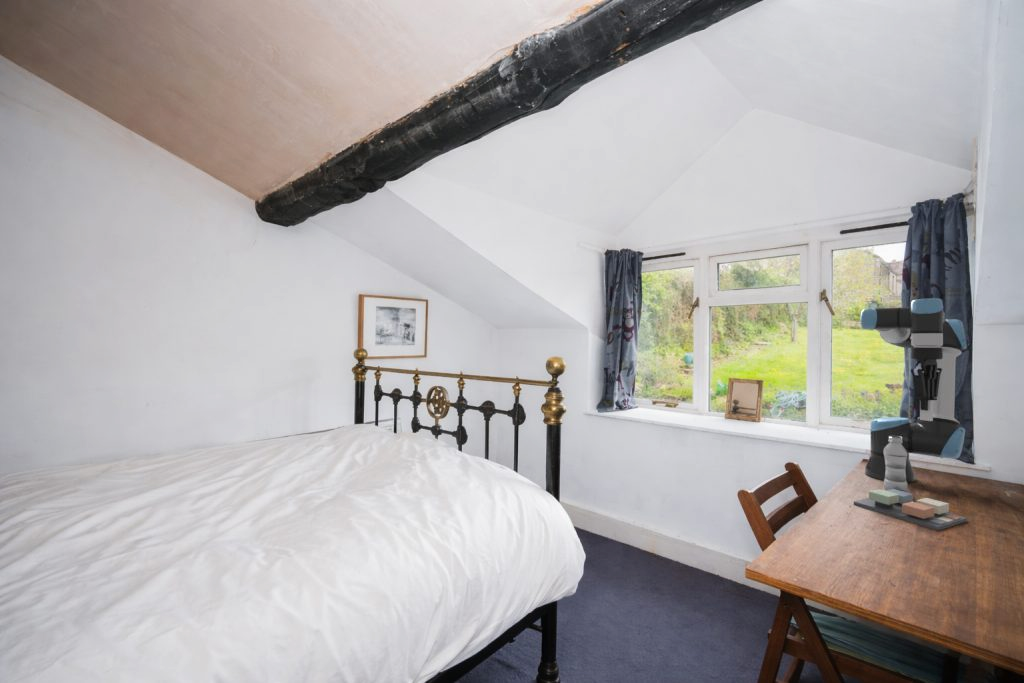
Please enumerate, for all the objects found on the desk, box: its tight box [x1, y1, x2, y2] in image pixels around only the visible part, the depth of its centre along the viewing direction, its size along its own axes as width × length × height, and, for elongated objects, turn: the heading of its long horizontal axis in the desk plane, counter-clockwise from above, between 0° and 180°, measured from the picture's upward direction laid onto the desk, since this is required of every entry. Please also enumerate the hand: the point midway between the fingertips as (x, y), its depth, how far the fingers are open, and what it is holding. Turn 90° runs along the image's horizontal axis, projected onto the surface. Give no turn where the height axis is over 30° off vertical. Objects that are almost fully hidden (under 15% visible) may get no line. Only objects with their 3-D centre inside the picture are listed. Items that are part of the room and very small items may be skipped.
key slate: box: [887, 489, 914, 504], centre depth 148 cm, size 6×6×2 cm
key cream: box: [916, 497, 950, 514], centre depth 139 cm, size 6×6×2 cm
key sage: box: [868, 488, 899, 505], centre depth 145 cm, size 6×6×2 cm
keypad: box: [853, 497, 968, 531], centre depth 142 cm, size 16×22×3 cm
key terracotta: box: [902, 500, 934, 519], centre depth 136 cm, size 6×6×2 cm
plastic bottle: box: [882, 436, 909, 493], centre depth 159 cm, size 6×7×20 cm
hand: (926, 420), depth 145 cm, fingers closed
